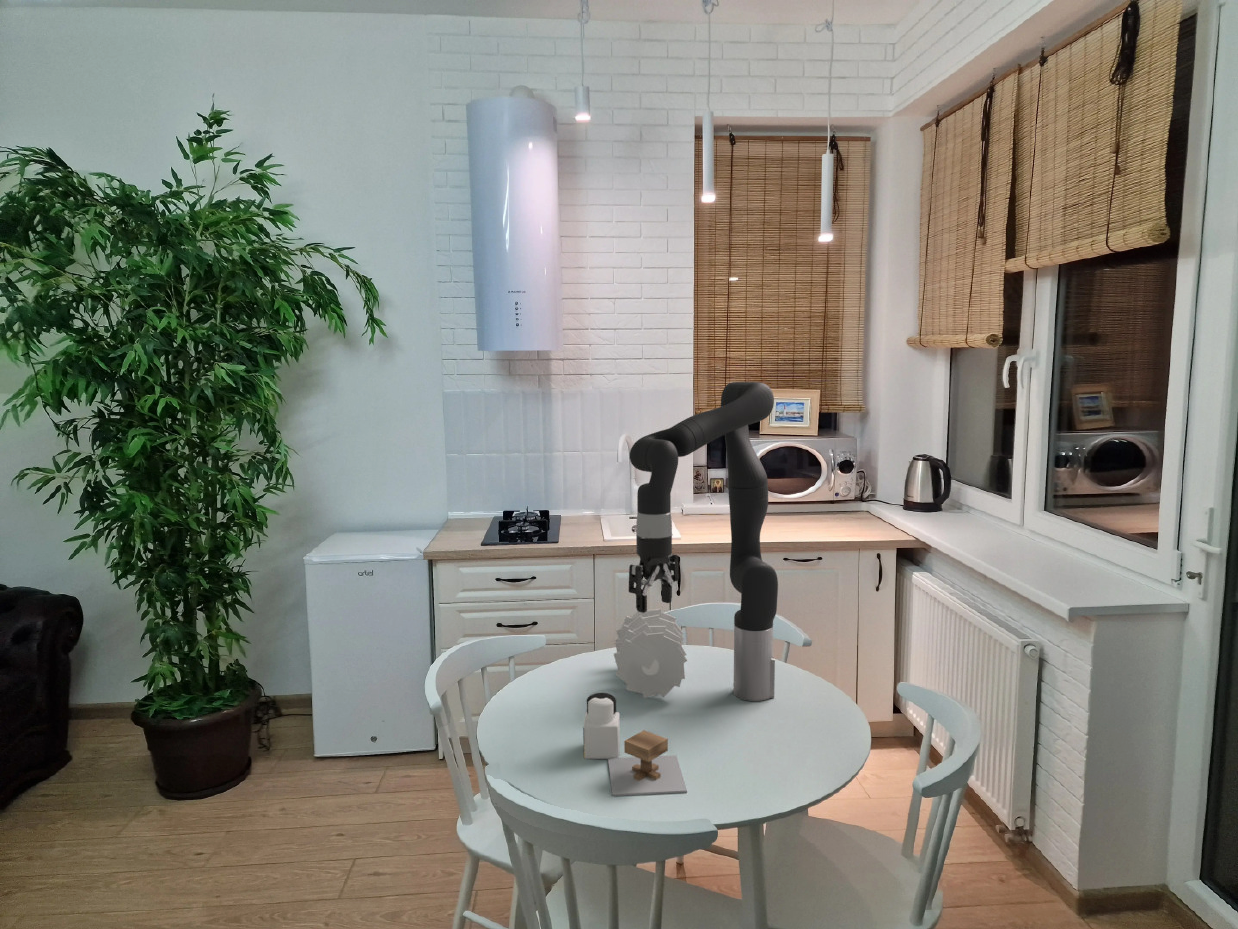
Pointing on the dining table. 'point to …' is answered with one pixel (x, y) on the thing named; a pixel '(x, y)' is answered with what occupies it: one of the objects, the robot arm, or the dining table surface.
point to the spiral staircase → (650, 653)
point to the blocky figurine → (601, 727)
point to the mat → (628, 785)
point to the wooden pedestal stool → (646, 753)
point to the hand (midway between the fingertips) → (654, 607)
